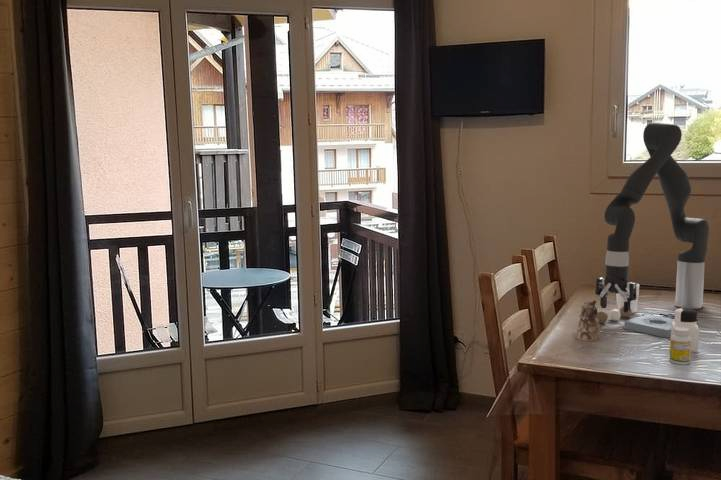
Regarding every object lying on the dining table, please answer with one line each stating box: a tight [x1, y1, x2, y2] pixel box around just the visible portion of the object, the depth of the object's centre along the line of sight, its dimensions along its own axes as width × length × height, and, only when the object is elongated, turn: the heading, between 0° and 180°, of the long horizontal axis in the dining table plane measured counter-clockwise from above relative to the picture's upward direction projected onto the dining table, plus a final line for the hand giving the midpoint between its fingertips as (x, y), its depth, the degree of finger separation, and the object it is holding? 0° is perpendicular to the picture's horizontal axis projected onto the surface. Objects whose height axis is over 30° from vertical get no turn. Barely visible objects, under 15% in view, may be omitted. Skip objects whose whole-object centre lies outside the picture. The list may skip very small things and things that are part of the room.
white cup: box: [615, 282, 640, 314], centre depth 264 cm, size 8×8×10 cm
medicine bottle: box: [669, 307, 700, 353], centre depth 216 cm, size 7×7×12 cm
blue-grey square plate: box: [623, 313, 675, 339], centre depth 239 cm, size 15×15×2 cm
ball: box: [608, 308, 622, 322], centre depth 250 cm, size 4×4×4 cm
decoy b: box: [597, 311, 609, 324], centre depth 247 cm, size 4×4×4 cm
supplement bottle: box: [669, 327, 692, 365], centre depth 203 cm, size 5×5×10 cm
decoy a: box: [620, 307, 633, 319], centre depth 255 cm, size 4×4×4 cm
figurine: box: [576, 300, 602, 342], centre depth 228 cm, size 7×7×12 cm
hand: (614, 309), depth 250 cm, fingers open, 8 cm apart
